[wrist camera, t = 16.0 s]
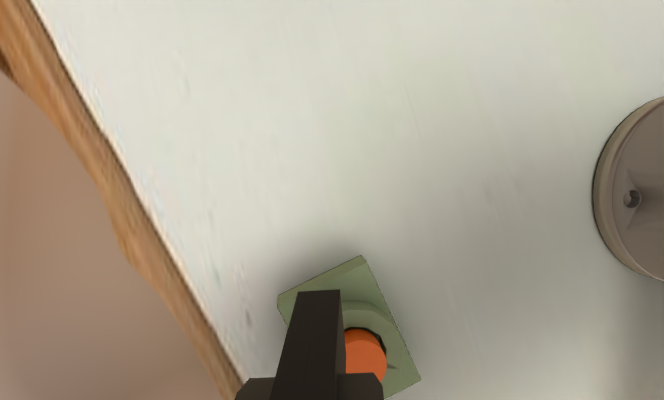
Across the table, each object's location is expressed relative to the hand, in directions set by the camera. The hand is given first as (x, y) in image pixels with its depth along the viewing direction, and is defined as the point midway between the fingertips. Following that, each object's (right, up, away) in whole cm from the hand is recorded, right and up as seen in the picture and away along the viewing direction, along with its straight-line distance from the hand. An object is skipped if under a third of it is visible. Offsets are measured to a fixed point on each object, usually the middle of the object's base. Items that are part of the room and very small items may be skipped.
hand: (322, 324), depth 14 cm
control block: (+2, -6, +16) cm, 17 cm away
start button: (+2, -6, +13) cm, 14 cm away
